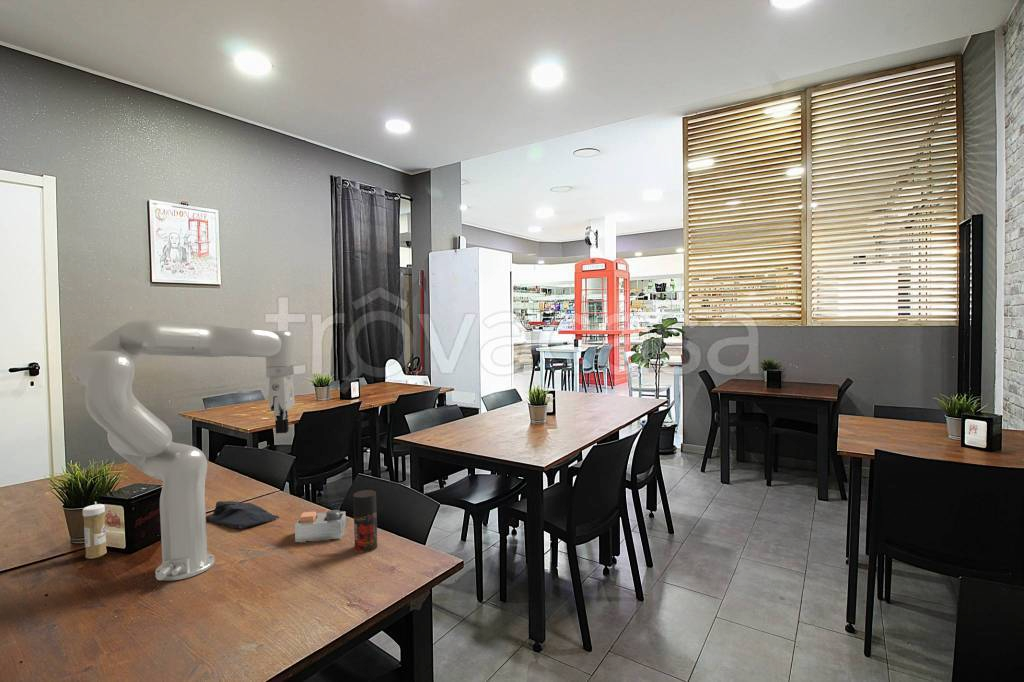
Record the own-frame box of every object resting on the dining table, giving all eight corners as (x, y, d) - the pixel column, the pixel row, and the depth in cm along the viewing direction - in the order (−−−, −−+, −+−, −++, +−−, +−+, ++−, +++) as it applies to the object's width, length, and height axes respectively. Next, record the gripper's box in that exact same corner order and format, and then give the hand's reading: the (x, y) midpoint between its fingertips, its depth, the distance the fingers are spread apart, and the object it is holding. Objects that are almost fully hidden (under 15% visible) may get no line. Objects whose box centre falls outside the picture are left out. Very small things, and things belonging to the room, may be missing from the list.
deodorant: (350, 549, 135) (348, 495, 134) (366, 541, 140) (364, 488, 139) (366, 554, 132) (364, 498, 131) (382, 545, 137) (380, 491, 137)
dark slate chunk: (233, 536, 145) (232, 521, 145) (200, 520, 158) (199, 505, 158) (283, 519, 158) (282, 504, 158) (248, 505, 171) (248, 491, 170)
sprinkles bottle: (105, 556, 133) (103, 507, 133) (83, 561, 131) (81, 511, 130) (108, 549, 137) (105, 502, 137) (86, 554, 135) (83, 505, 134)
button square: (313, 533, 142) (313, 516, 142) (300, 534, 142) (299, 517, 142) (316, 528, 146) (316, 511, 146) (303, 529, 145) (303, 512, 145)
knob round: (339, 531, 143) (338, 514, 143) (325, 532, 143) (325, 515, 143) (341, 525, 147) (341, 509, 147) (328, 526, 147) (327, 510, 146)
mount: (341, 538, 142) (340, 519, 141) (295, 542, 140) (294, 523, 139) (345, 527, 149) (345, 509, 149) (302, 531, 147) (301, 512, 147)
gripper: (286, 374, 142) (288, 437, 142) (299, 369, 156) (301, 426, 157) (258, 375, 140) (260, 439, 141) (274, 370, 155) (276, 428, 156)
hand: (282, 432), depth 149 cm, fingers closed
